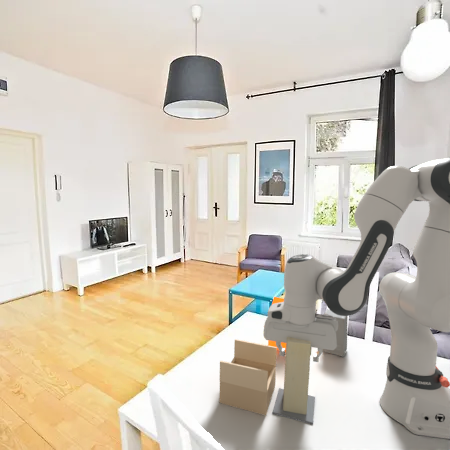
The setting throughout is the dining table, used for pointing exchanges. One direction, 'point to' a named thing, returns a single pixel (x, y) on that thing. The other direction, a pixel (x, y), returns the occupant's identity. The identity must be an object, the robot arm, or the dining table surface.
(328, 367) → the dining table surface
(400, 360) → the robot arm
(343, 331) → the skincare box
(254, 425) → the dining table surface
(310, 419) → the mat
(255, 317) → the dining table surface
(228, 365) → the carton
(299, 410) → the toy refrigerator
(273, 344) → the orange juice
